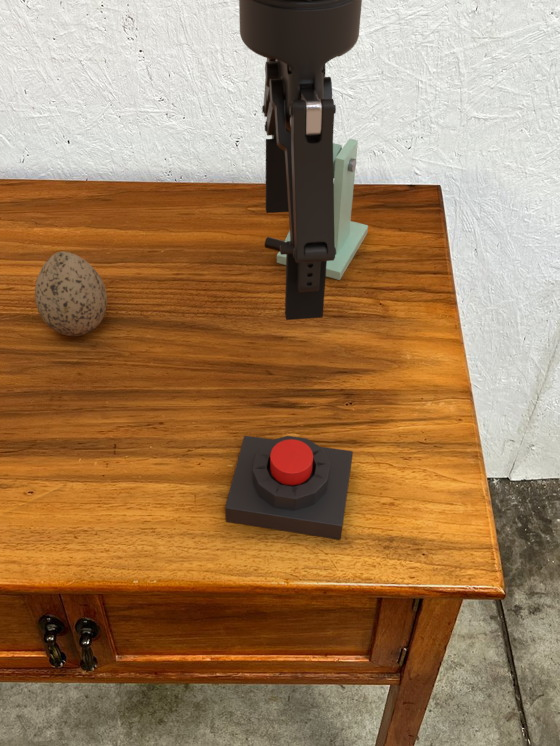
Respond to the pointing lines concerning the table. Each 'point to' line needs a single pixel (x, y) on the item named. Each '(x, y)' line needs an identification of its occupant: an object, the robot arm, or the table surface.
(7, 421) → the table surface
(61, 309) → the decorative egg
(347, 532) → the table surface
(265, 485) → the control block
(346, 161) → the bracket
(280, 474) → the button
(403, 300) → the table surface
